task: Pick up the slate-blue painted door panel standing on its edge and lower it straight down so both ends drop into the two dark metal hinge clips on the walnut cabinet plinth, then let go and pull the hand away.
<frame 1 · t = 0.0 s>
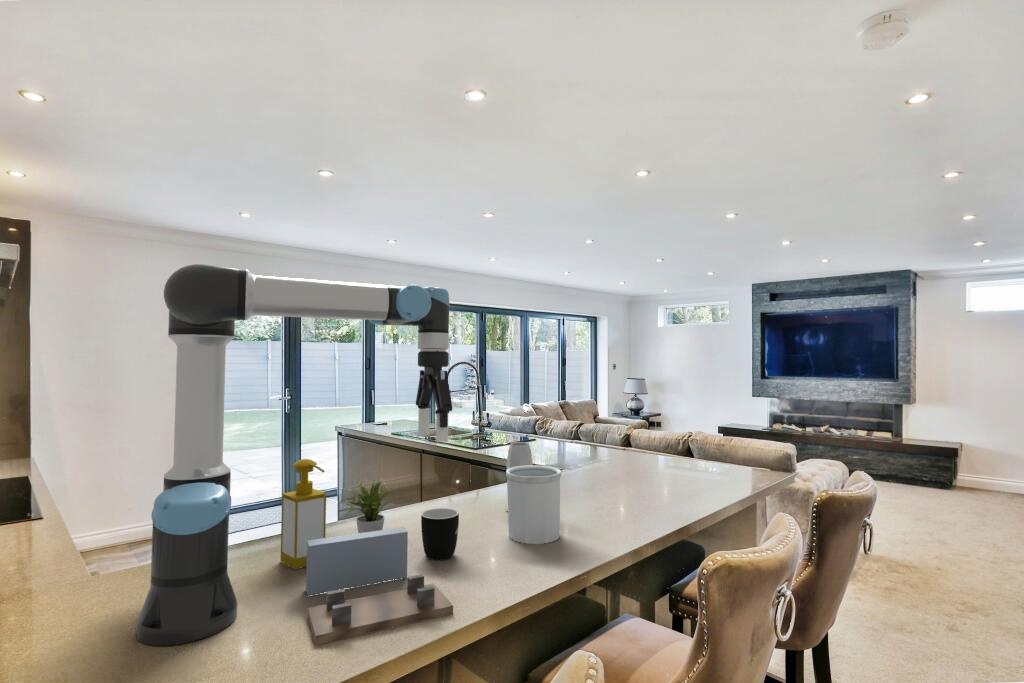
hand: (432, 437, 129), 28 cm above the countertop, tool pointing down, fingers open, 13 cm apart
door panel: (357, 584, 110), on the countertop
wineglass: (519, 511, 165), on the countertop
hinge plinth: (380, 615, 97), on the countertop
house plant: (369, 541, 137), on the countertop
utensil holder: (533, 537, 141), on the countertop
soap bottle: (308, 565, 121), on the countertop
mug: (438, 554, 128), on the countertop
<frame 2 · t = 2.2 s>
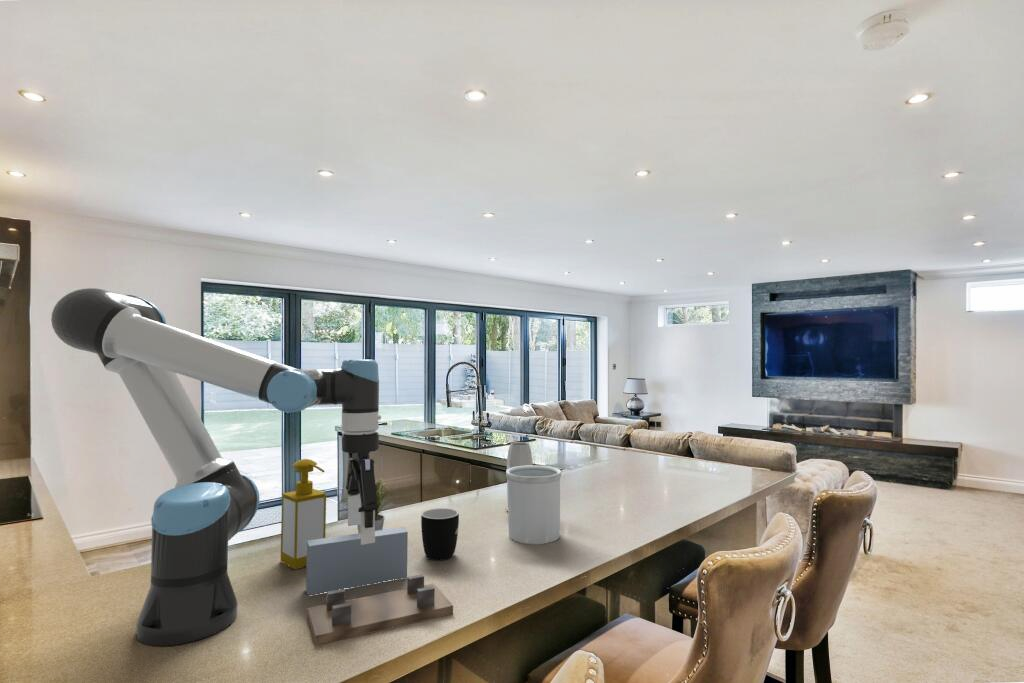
hand: (360, 533, 111), 10 cm above the countertop, tool pointing down, fingers open, 13 cm apart
nothing on the countertop moved.
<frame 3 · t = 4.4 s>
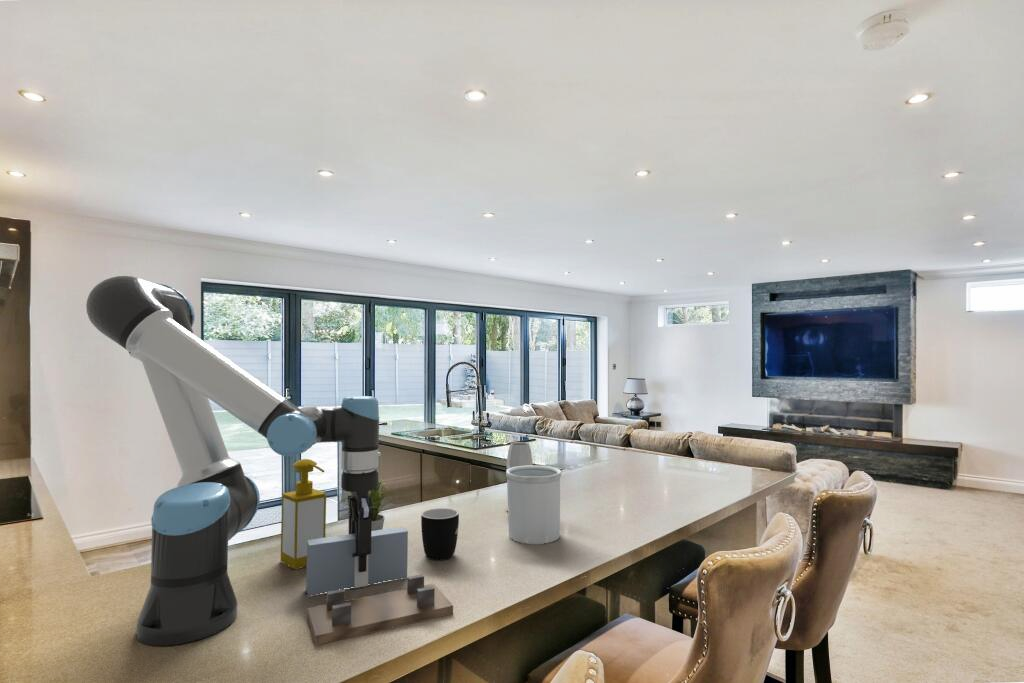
hand: (358, 582, 110), 0 cm above the countertop, tool pointing down, fingers closed on door panel, 4 cm apart
door panel: (358, 583, 110), on the countertop, touching gripper
everything else where it was.
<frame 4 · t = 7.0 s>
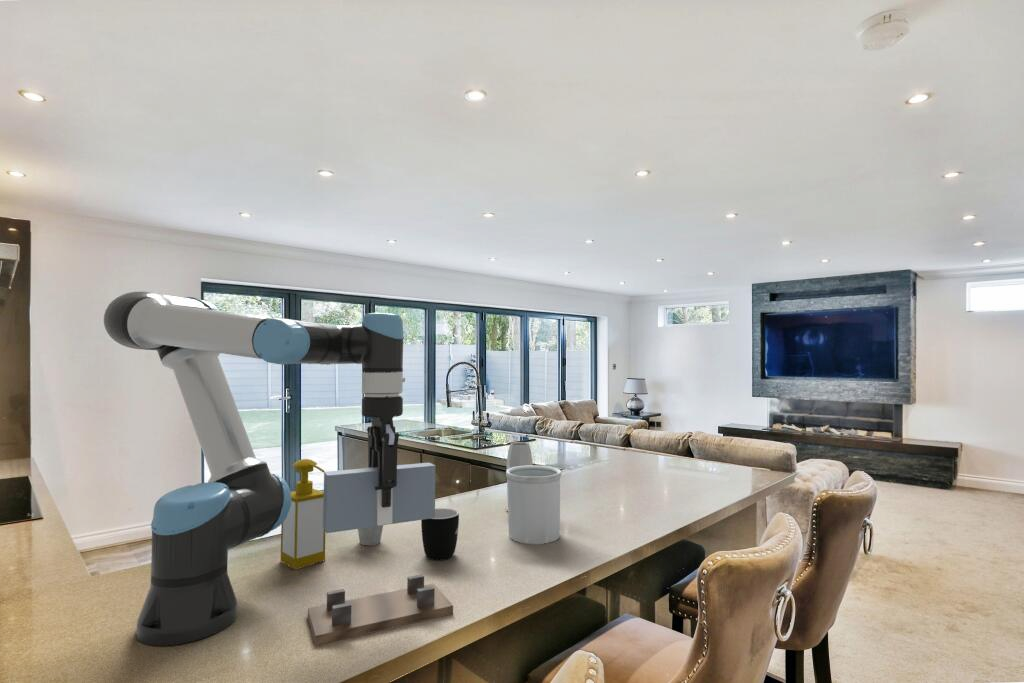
hand: (381, 520, 98), 17 cm above the countertop, tool pointing down, fingers closed on door panel, 4 cm apart
door panel: (380, 522, 98), point 16 cm above the countertop, touching gripper
everything else where it was.
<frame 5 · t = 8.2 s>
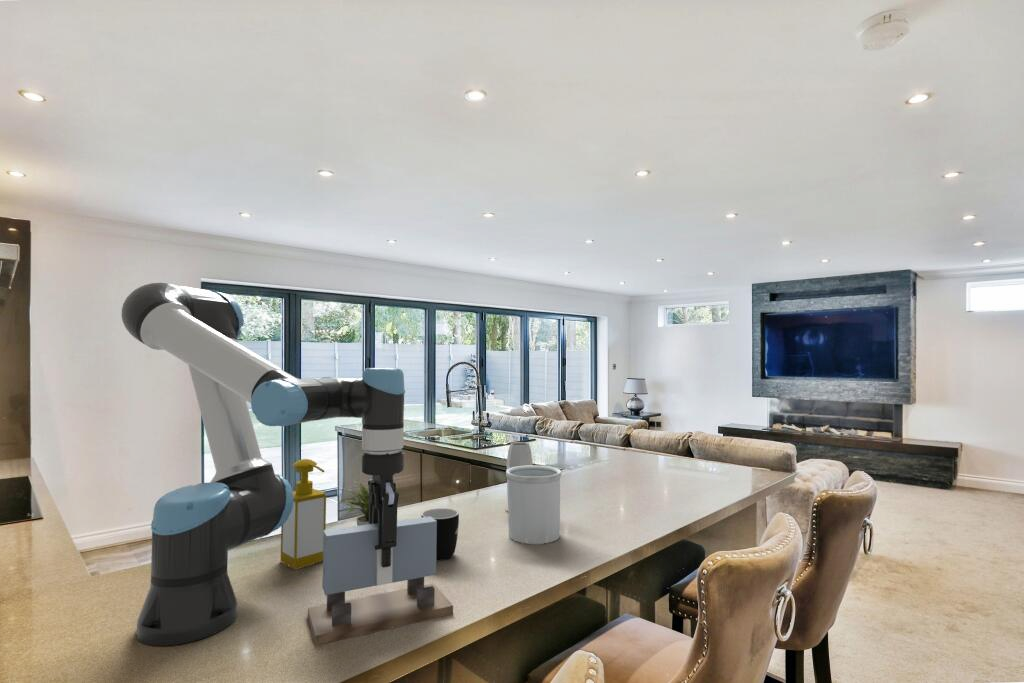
hand: (381, 578, 97), 7 cm above the countertop, tool pointing down, fingers closed on door panel, 4 cm apart
door panel: (380, 580, 97), point 6 cm above the countertop, touching gripper
everything else where it was.
when the fingers open (3 cm above the countertop, at t = 9.5 s): door panel drops 1 cm, resting on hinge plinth.
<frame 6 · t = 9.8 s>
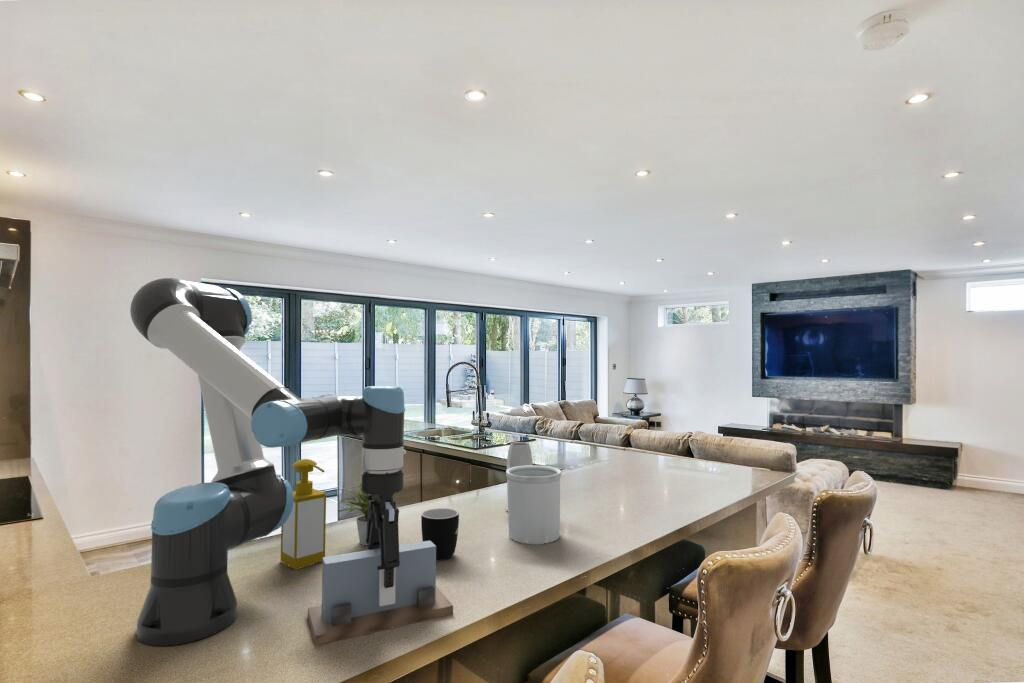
hand: (381, 594, 97), 4 cm above the countertop, tool pointing down, fingers open, 8 cm apart
door panel: (380, 606, 97), point 1 cm above the countertop, touching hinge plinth
everything else where it was.
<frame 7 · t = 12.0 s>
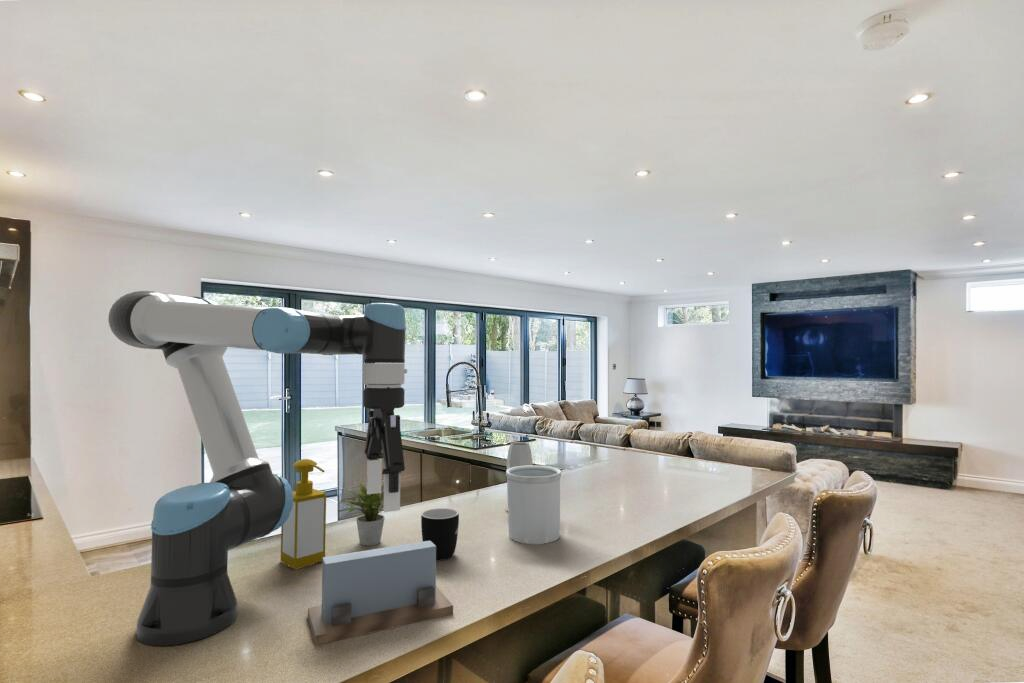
hand: (382, 501, 98), 21 cm above the countertop, tool pointing down, fingers open, 13 cm apart
nothing on the countertop moved.
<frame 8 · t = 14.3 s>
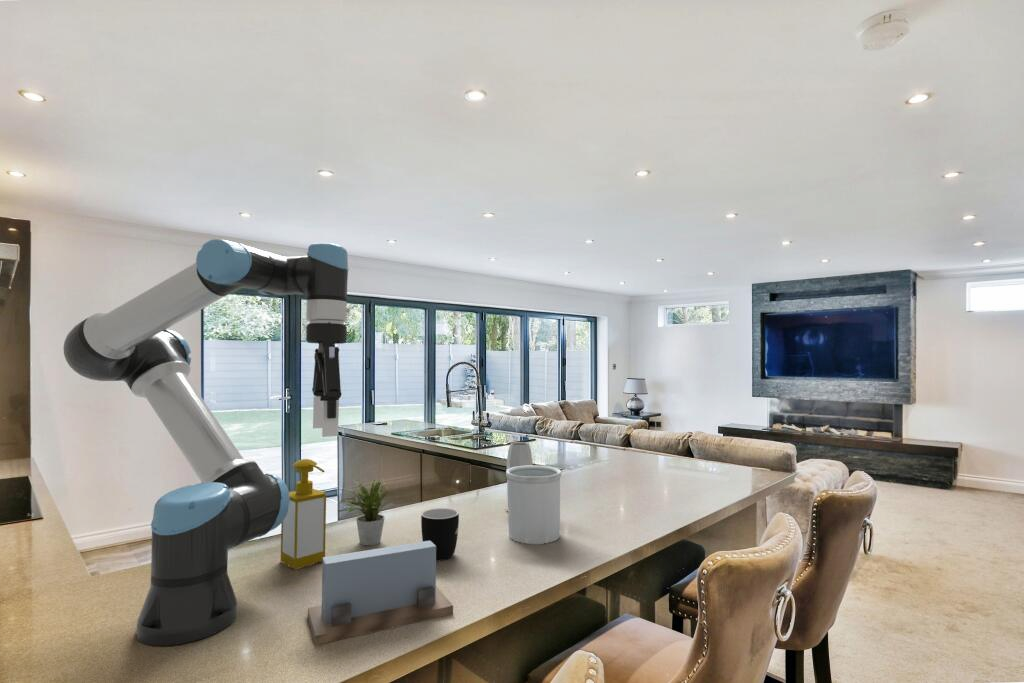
hand: (324, 432, 103), 33 cm above the countertop, tool pointing down, fingers open, 13 cm apart
nothing on the countertop moved.
at the end: door panel 0.1 cm off-centre on the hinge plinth, point 1.5 cm above the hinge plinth's base; door panel tilted 0°; the gripper is holding nothing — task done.
